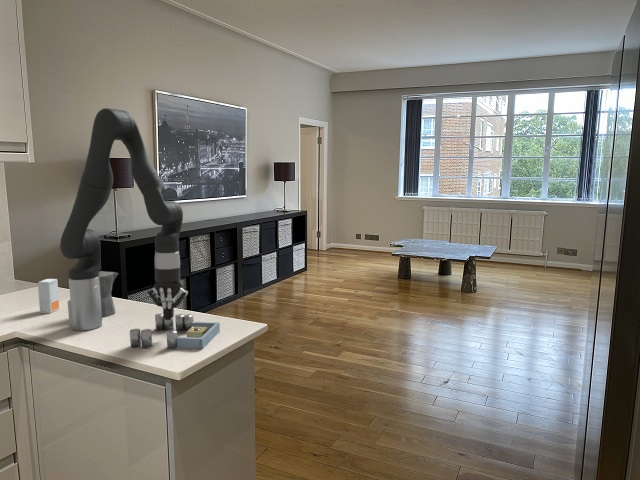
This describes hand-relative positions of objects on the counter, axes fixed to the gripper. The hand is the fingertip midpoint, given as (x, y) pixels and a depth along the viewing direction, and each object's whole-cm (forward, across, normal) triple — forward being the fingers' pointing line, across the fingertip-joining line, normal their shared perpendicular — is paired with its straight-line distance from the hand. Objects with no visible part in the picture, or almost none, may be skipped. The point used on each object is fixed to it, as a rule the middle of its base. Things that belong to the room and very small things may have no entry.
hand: (168, 319), depth 152 cm
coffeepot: (+7, -36, +22) cm, 43 cm away
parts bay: (+6, +9, 0) cm, 11 cm away
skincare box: (+8, -57, +24) cm, 63 cm away
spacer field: (+6, -1, 0) cm, 6 cm away
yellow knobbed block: (+6, +10, -1) cm, 11 cm away
